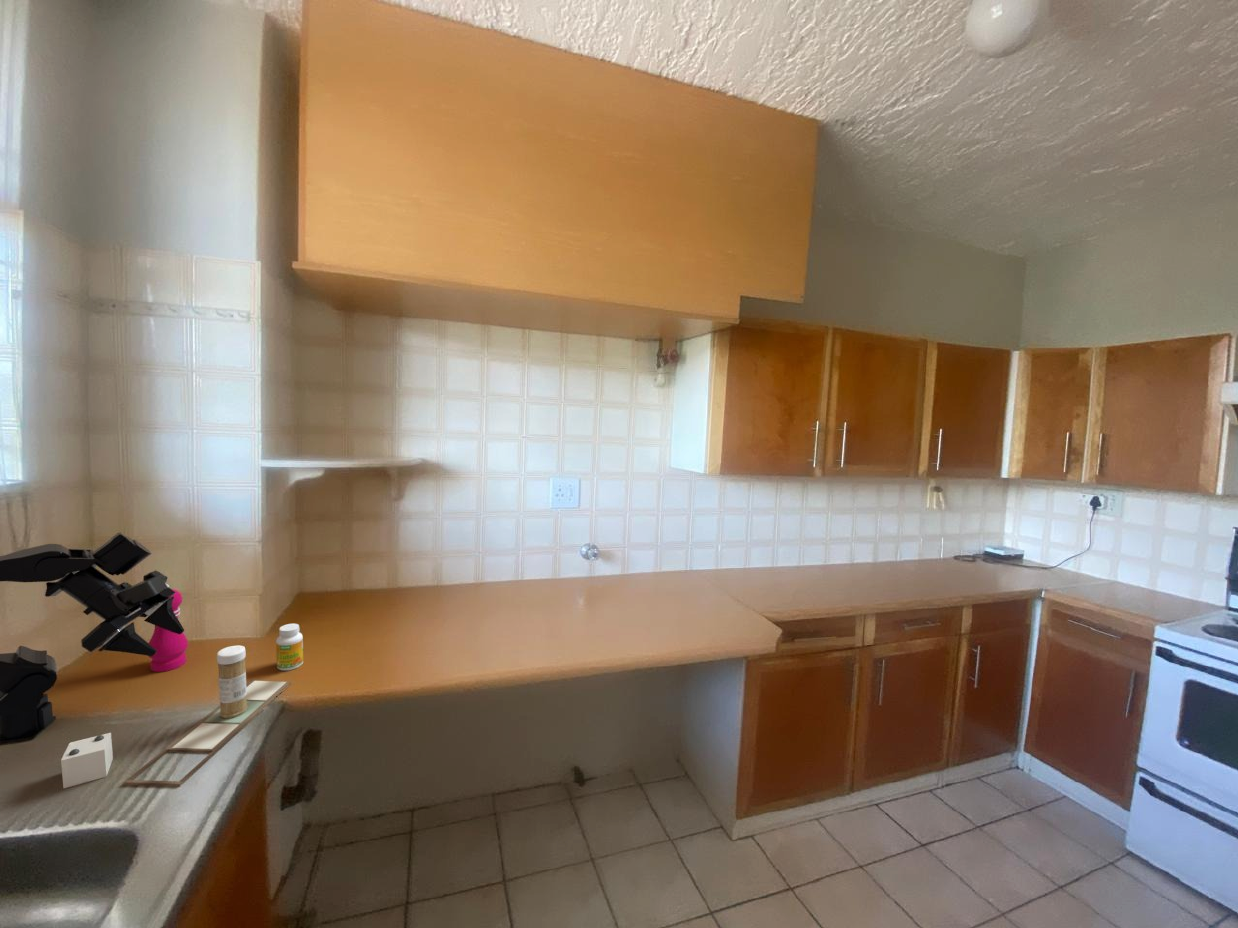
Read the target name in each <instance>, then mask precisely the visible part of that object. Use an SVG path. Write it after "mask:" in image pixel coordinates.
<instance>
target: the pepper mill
mask: <svg viewBox="0 0 1238 928" xmlns="http://www.w3.org/2000/svg"><path fill="white" fill-rule="evenodd" d="M165 584H166V585H167V587H169V588H170V585H169V584H168V583H165ZM171 589H172V590H173V591H174V592H176V593H175V594H174V595H173V596H174V600H173V602H172V609H173V611H174V614H175V615H176V617H177V619H178V620H179V616H180V614H181V608H180V607H179V606H181V604H182V603H183V595H182V593H181V592H180V591H179V590H177V589H174V588H171ZM173 596H172V597H173ZM170 598H171V597H170ZM170 598H169V599H170ZM148 643H149V644H150V645H151V646H152V647H153V648H154V649H155V650H156V651H157V653H155V654H154V655H153V656H148V658H150V659H151V661H150V670H151V671H152V672H156V673H157V672H158V673H161V672H162V673H163V672H169V671H173V670H175V669H178V668H180V667H182V666H184V665H185V664H186V663H187V653H185V652H186V650H187V649H188V647H189V642H188V638H187V636H186V635H185V633H184V632H183V633H181V634H177V633H174V632H171V631H168V630H166V629H163V628H161V627H158V626H156V625H154V630H153V633H152V635H151V637H150V639H149V642H148Z"/></svg>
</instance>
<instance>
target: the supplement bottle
mask: <svg viewBox="0 0 1238 928" xmlns="http://www.w3.org/2000/svg"><path fill="white" fill-rule="evenodd" d="M278 630H279V631H278V632H279V636H278V637H277V638H276V641H275V651H276V656H275V657H276V668H277V669H278V670H279V671H283V672H286V671H291V670H294V669H297V668H299V667H301V666H302V665H303V663H304V638H303V634H302V632H300V625H299V624H298V623H288V624H287V623H286V624H284V625H282V626H280V627H279V629H278Z"/></svg>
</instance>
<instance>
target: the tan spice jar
mask: <svg viewBox="0 0 1238 928" xmlns="http://www.w3.org/2000/svg"><path fill="white" fill-rule="evenodd" d="M246 652H247V651H246V648H245V646H243V645H232V646H231V645H230V646H227V647H226V646H225V647H224V648H222V649H220V650H219V651H218V652H217V653H216V662H217V667H218V694H219V697H218V698H219V703H220V704H219V706H220V716H221V717H223V718H232V717H236V716H238V715H240V714H242V713H243V712H245V711H246V710H247V703H246V694H247V692H246V684H247V673H246V672H247V671H246V660H245V659H246V656H247V654H246Z"/></svg>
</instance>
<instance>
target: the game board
mask: <svg viewBox="0 0 1238 928" xmlns="http://www.w3.org/2000/svg"><path fill="white" fill-rule="evenodd" d="M291 683H292V681H282V680H281V681H280V680H279V681H278V680H249V681H248V682H246V692H247V694H246V703H247V710H246V711H245V712H243V713H242V714H240V715H238V716H236V717H232V718H223V717H221V716H220V705H218V706H217V707H216V708H214V709H213V710H212V711H211V712H209V713H208V714H207V715H206V716H204V717H203V718H202V719H200V721H198V722H197V723H195V725H193V726H192V727H190V728H189V729H188V730H187V731H186V732H185V733H183V734H182V735H181V736H180V737H179V738H177V739H176V740H174V741H173V742H172V743H171V744H170V745H169V746H167V747H166V748H164V749H163V750H162V751H161V752H159V753H158V754H157V755H155V757H154V758H152V759H151V760H149V761H148V762H147V763H146V764H145V765H143V766H142V767H141V768H140V769H138V770H137V771H136V772H134V773H133V774H132V775H131V776H129V777H128V778H127V779H126V780H125V781H123V786H144V787H145V786H146V787H147V786H148V787H150V786H151V787H154V786H155V787H181V786H182V785H183V784H184V783H185V782H186V781H188V780H189V779H190V777H192V776H193V775H194V774H195V773H197V772H198V771H199V770H200V769H201V768H202V767H203V766H204V765H205V764H206V763H208V762H209V760H210V759H212V758H213V757H214V756H215V755H216V754H217V753H218V752H219V751H220V750H221V749H223V748H224V747H225V746H226V745H227V744H228V743H229V742H230V741H231V740H232V739H234V737H235V736H237V734H239V733H240V732H241V731H242V730H243V729H245V727H246V726H248V724H249V723H251V722H252V721H253V720H254V719H255V718H256V717H257V716H258V715H259V714H260V713H261V712H260V711H261V710H262V709H263V708H265V707H266V706H267V705H268V703H269V702H270V701H271V700H272V699H273V698H275V697H276V696H277V695H279V694H280V693H281V692H282V691H283V690H284V689H285V688H286V687H287V686H288V685H290V684H291ZM292 684H293V683H292ZM292 684H291V685H292ZM291 685H290V686H291ZM284 691H285V690H284ZM284 691H283V692H284ZM283 692H282V693H283ZM282 693H281V694H282ZM281 694H280V695H281ZM280 695H279V696H280ZM268 706H269V705H268ZM268 706H267V707H268ZM267 707H266V708H267ZM266 708H265V709H266ZM258 713H259V714H258ZM257 714H258V715H257ZM256 715H257V716H256ZM168 752H169V753H170V752H171V753H200V754H201V753H204V754H205V753H207V754H208V755H207V756H206V757H204V758H203V759H202V760H201V761H200V762H199V763H198V764H197V765H195V767H194V768H192V769H191V770H190V771H189V772H188V773H186V775H184V776H183V777H182V778H181V779H180V780H179V781H176V780H175V781H173V780H170V781H169V780H141V779H140V780H138V779H136V778H138V777H139V776H140V775H141V774H143V772H145V771H146V770H148V769H149V768H150V767H151V766H153V764H155V763H156V762H158V760H160V759H161V758H162V757H163V756H165V755H166V754H167V753H168Z"/></svg>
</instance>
